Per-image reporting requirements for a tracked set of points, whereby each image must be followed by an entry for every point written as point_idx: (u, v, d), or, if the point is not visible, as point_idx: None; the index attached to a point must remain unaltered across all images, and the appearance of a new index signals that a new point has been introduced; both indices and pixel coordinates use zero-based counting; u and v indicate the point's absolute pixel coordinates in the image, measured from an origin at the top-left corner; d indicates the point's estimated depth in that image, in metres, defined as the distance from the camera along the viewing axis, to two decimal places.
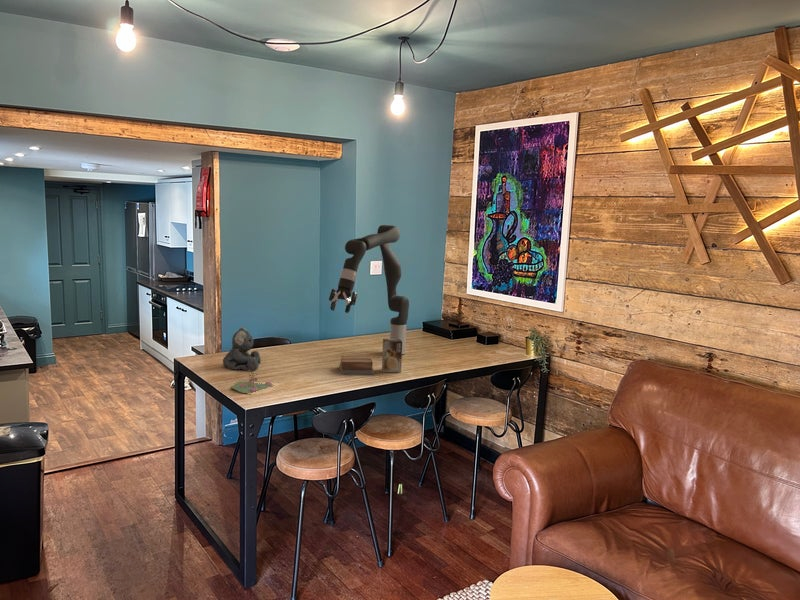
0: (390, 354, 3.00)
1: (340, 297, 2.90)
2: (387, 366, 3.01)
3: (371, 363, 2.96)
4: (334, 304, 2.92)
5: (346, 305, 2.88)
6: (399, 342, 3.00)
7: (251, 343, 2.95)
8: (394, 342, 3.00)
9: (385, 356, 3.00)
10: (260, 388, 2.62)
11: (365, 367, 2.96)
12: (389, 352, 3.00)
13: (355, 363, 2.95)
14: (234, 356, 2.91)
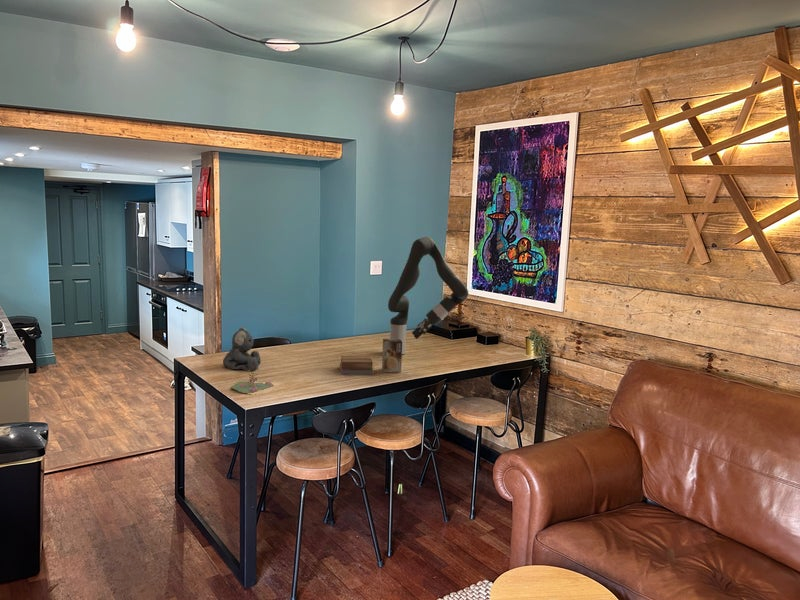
0: (390, 354, 3.00)
1: None
2: (387, 366, 3.01)
3: (371, 363, 2.96)
4: None
5: None
6: (399, 342, 3.00)
7: (251, 343, 2.95)
8: (394, 342, 3.00)
9: (385, 356, 3.00)
10: (260, 388, 2.62)
11: (365, 367, 2.96)
12: (389, 352, 3.00)
13: (355, 363, 2.95)
14: (234, 356, 2.91)
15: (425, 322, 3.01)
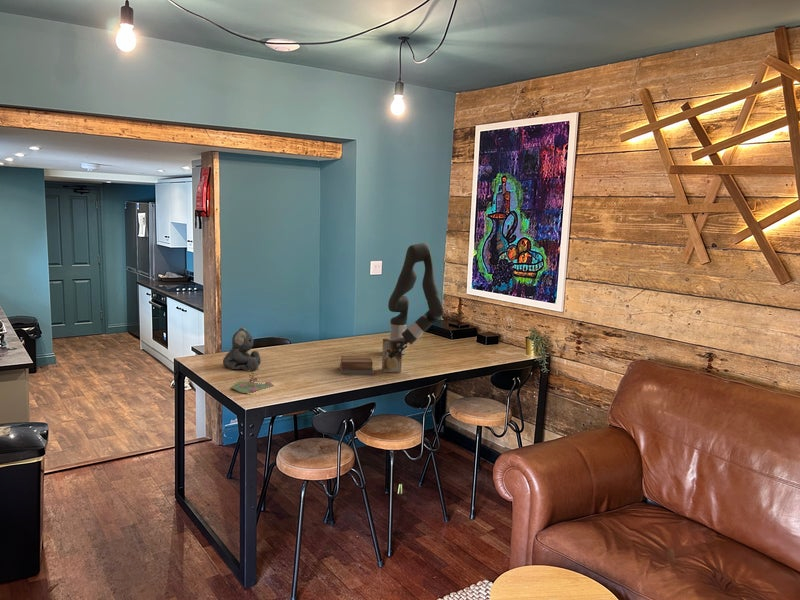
0: None
1: None
2: (387, 366, 3.01)
3: (371, 363, 2.96)
4: None
5: None
6: (399, 342, 3.00)
7: (251, 343, 2.95)
8: (394, 342, 3.00)
9: (385, 356, 3.00)
10: (260, 388, 2.62)
11: (365, 367, 2.96)
12: (389, 352, 3.00)
13: (355, 363, 2.95)
14: (234, 356, 2.91)
15: None
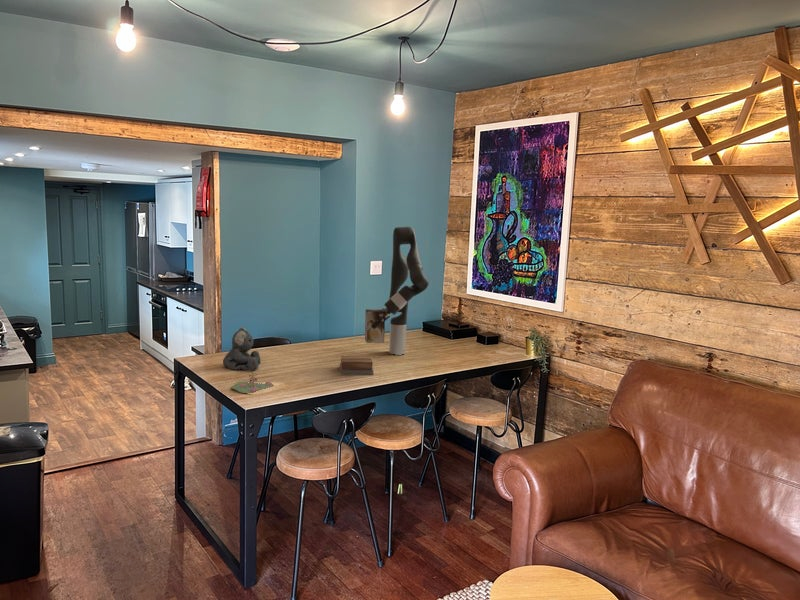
0: None
1: None
2: (370, 337, 2.97)
3: (371, 363, 2.96)
4: None
5: None
6: (382, 312, 2.96)
7: (251, 343, 2.95)
8: (377, 312, 2.95)
9: (368, 327, 2.96)
10: (260, 388, 2.62)
11: (365, 367, 2.96)
12: (372, 323, 2.96)
13: (355, 363, 2.95)
14: (234, 356, 2.91)
15: None
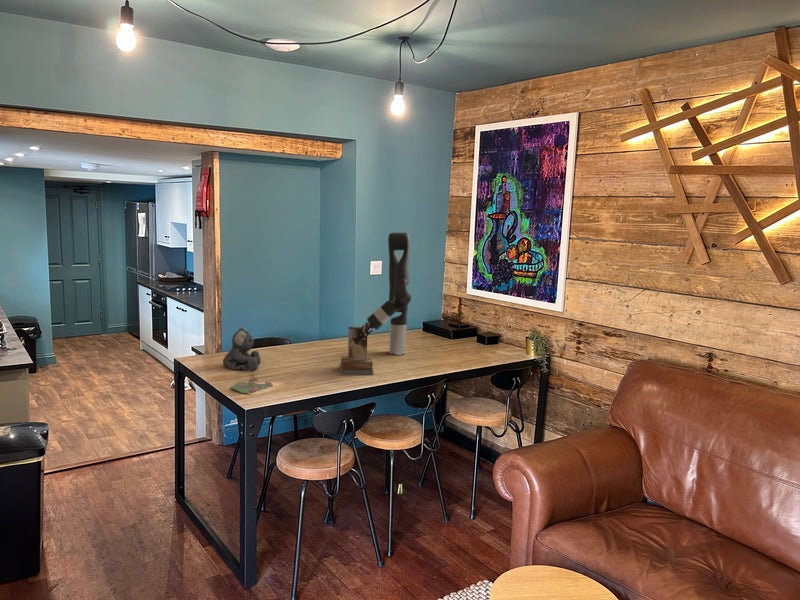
0: None
1: None
2: (353, 354, 2.97)
3: (371, 363, 2.96)
4: None
5: None
6: (364, 330, 2.96)
7: (251, 343, 2.95)
8: (359, 330, 2.96)
9: (350, 344, 2.96)
10: (260, 388, 2.62)
11: (365, 367, 2.96)
12: None
13: (355, 363, 2.95)
14: (234, 356, 2.91)
15: (366, 326, 2.97)
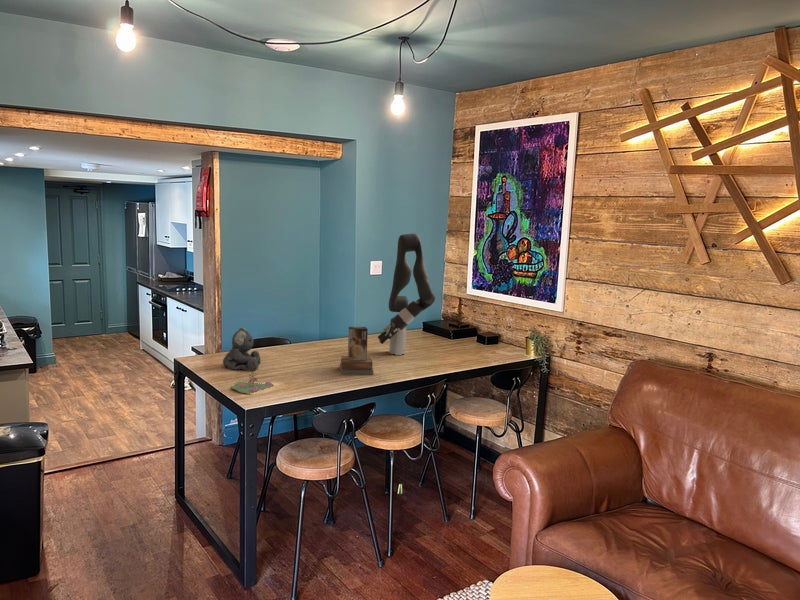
0: (355, 342, 2.96)
1: None
2: (353, 354, 2.97)
3: (371, 363, 2.96)
4: None
5: (385, 336, 3.05)
6: (364, 330, 2.96)
7: (251, 343, 2.95)
8: (359, 330, 2.96)
9: (350, 344, 2.96)
10: (260, 388, 2.62)
11: (365, 367, 2.96)
12: (355, 340, 2.96)
13: (355, 363, 2.95)
14: (234, 356, 2.91)
15: (391, 327, 2.98)
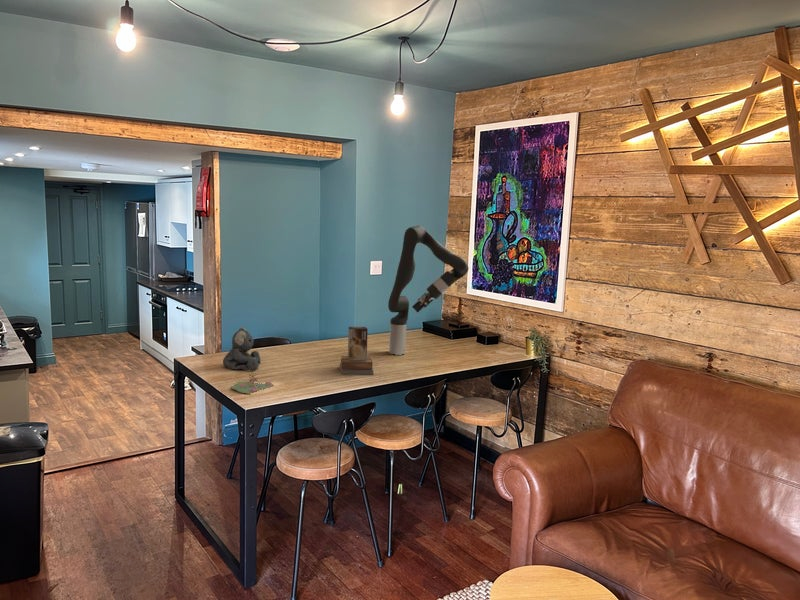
0: (355, 342, 2.96)
1: None
2: (353, 354, 2.97)
3: (371, 363, 2.96)
4: None
5: (419, 305, 3.13)
6: (364, 330, 2.96)
7: (251, 343, 2.95)
8: (359, 330, 2.96)
9: (350, 344, 2.96)
10: (260, 388, 2.62)
11: (365, 367, 2.96)
12: (355, 340, 2.96)
13: (355, 363, 2.95)
14: (234, 356, 2.91)
15: (426, 296, 3.07)
